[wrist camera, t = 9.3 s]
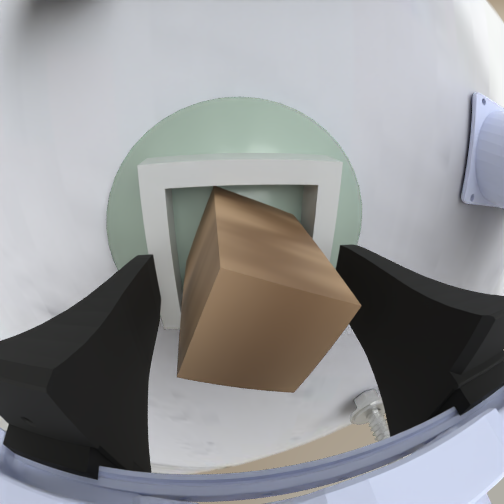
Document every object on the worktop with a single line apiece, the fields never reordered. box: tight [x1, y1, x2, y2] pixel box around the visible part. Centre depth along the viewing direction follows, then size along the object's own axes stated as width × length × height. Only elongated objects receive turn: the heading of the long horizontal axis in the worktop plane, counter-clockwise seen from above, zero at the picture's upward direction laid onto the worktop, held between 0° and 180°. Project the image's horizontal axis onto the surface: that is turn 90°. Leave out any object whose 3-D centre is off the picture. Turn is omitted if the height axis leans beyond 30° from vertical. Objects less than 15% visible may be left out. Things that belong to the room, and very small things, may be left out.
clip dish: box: [107, 97, 362, 330], centre depth 13 cm, size 13×13×2 cm
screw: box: [350, 389, 403, 465], centre depth 19 cm, size 13×5×5 cm
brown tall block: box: [177, 186, 361, 393], centre depth 10 cm, size 4×4×7 cm
